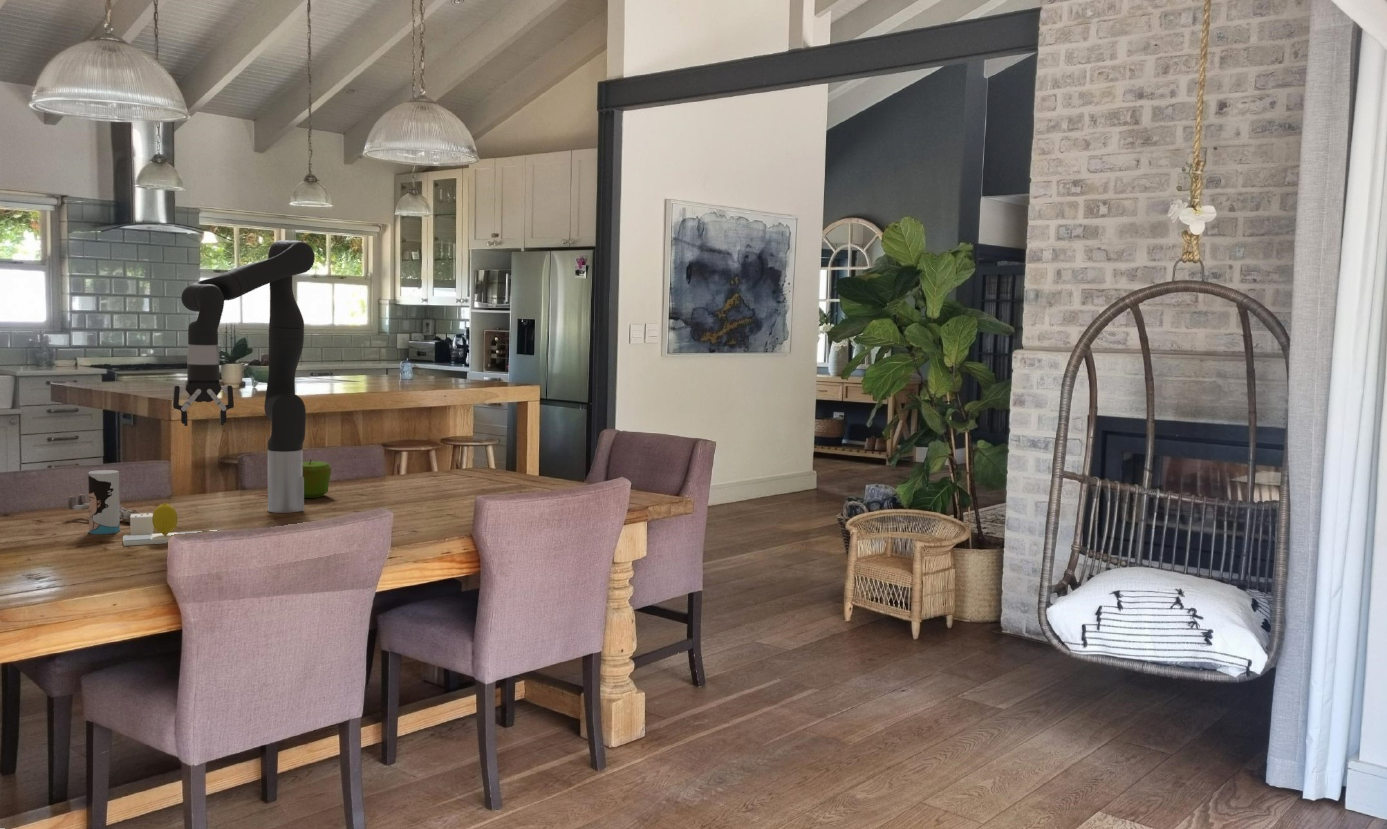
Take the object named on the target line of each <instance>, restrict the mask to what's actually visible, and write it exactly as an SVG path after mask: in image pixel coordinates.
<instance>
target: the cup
mask: <svg viewBox="0 0 1387 829" xmlns="http://www.w3.org/2000/svg"><path fill="white" fill-rule="evenodd" d="M87 480H88V503H89V509H88V518H89V521H88V524H89V525H88V527H89V529H88V533H89V534H92V535H108V534H109V535H110V534H116V533H119V532H120V531H121V530H120V528H121V524H120V523H121V522H120V520H121V519H120V517H119V504H120V471H119V470H115V469H99V470H98V469H97V470H91V471H88V479H87Z"/></svg>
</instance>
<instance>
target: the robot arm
mask: <svg viewBox="0 0 1387 829" xmlns="http://www.w3.org/2000/svg"><path fill="white" fill-rule="evenodd" d="M315 256H316V255H315V252H314V249H313V248H312V246H311V245H310V244H309V243H307V242H305V241H301V240H286V239H285V240H284V239H283V240H276V241H274V242H273V243H272V244H271V246H270V247H269V251H268V256H267V259H263V260H260V261H256V262H251V263H247V264H244V265H241V266H237V267H235V268H232V269H230V270H228V271H226V272H223V273H221V274H219V275H217V276H213V277H211V278H210V277H209V278H206V279H203V280H199V281H195V282H192V283H191V284H189V285H188V286H186V287H185V288H184V290H183V291H182V292H181V304H183V306H184V308H186V309H188V311H191V312H196V313H197V312H198V316H197V319H196V320H195V321H192V322H190V323H189V324H188V327H187V331H188V332H187V345H188V346H187V352H186V356H187V357H186V358H187V359H186V362H187V366H186V367H187V368H186V369H187V370H186V371H187V374H186V375H187V378H186V379H187V382H186V385H178V384H176V385H174V386H173V398H172V399H173V400H172V407H173V409H174V410H178V411H179V412H180V423H181V424H183V426H184V427H188V411H187V410H188V409H189V407H190V406H191V405H192V404H193V403H194V402H196V403H203V402H206V403H211V402H213V401H214V402H215V404H216V405H217V406H218V407H219V408H220V410H219V423H220V424H219V425H220V426H224V425H225V424H226V423H227V411H228V410H230V409H233V408H234V407H235V405H234V404H235V403H234V389H233V385H231V384H228V385H221V383H220V359H221V358H220V350H219V326H220V323H221V319H222V316H223V312H224V306H225V301H231V300H235V299H237V298H239V297H241V296H243V295H246V294H248V293H249V292H252V291H254V290H256V289H259V288H261V287H263V286H265V285H268V284H269V322H268V324H269V325H268V374H267V375H268V377H267V384H266V392H265V397H264V412H265V416H266V417H267V418H268V420H270V422H271V433H270V437H269V439H268V440H267V511H268V512H269V513H277V514H278V513H282V514H285V513H286V514H287V513H288V514H289V513H296V512H304V511H305V509H304V508H305V498H304V477H303V462H304V461H303V460H304V458H303V453H304V452H303V451H304V450H303V448H304V446H303V445H304V442H305V437H306V423H307V421H306V419H307V418H306V417H307V414H306V413H307V412H306V405H305V403H304V400H303V399H302V398H301V397H300V396H299V395H297V394H296V381H295V380H296V374H297V373H296V372H297V369H298V365H299V362H300V359H301V356H302V352H303V349H304V342H305V341H304V339H305V321H304V318H303V317H304V316H303V314H302V312H301V310H300V308H299V305H298V303H297V301H296V298H295V295H294V291H293V290H294V288H293V277H294V276H296V275H300V274H301V275H302V274H305V273H307V272H308V271H310V270H311V268H312V267H313V266H314V263H315V258H316V257H315ZM222 390H223V393H224V394H226V396H227V403H225V404H224V403H223V402H222V400H220V398H219V397H218V395H219V394H220V393H221V391H222ZM184 391H186V393H188V395H189V396H188V397H187V398H186V400H185V402H184V403H183V404H180V395H182V394H183V393H184Z"/></svg>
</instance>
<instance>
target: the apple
mask: <svg viewBox="0 0 1387 829" xmlns="http://www.w3.org/2000/svg"><path fill="white" fill-rule="evenodd" d="M309 460H310V461H303V477H304V499H317V498H322V497H323V496H324V495H326V494H327V493H328V492H329V482H330V477H331V473H332V467H331V465H330V464H329V463H328V462H326V461H320V460H319V461H316V460H312V459H309Z"/></svg>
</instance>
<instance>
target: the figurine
mask: <svg viewBox="0 0 1387 829" xmlns="http://www.w3.org/2000/svg"><path fill="white" fill-rule="evenodd" d="M67 507H68V508H67V509H68V510H78V511H85V510H89V502H88V503H87V500H86V495H85V494H84V493H79V494H78V495H77V497H76V496H75V495H70V496H68V498H67ZM131 514H142V513H141V511H138V510H136V509H132V510H131V509H128V510H127V509H126V508H125V507H123V506H122V505H121V503H119V517H120V520H121V523H124V522H126V523H129V524H130V516H131ZM86 518H87V521H88V522H89V517H86Z"/></svg>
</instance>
